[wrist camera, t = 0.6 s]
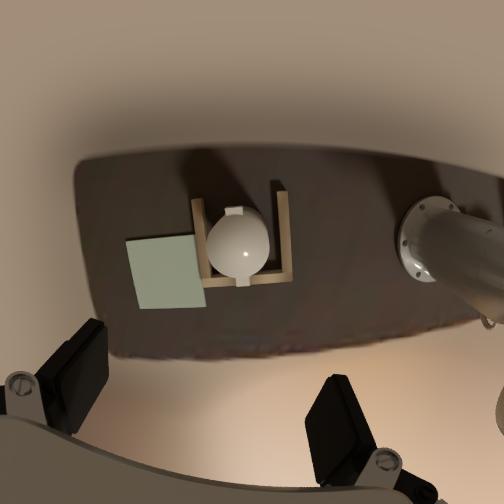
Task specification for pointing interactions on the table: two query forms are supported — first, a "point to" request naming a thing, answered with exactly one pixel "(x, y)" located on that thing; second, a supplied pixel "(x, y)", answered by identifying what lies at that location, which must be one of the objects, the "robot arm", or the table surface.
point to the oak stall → (258, 277)
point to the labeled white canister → (238, 244)
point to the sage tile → (166, 272)
